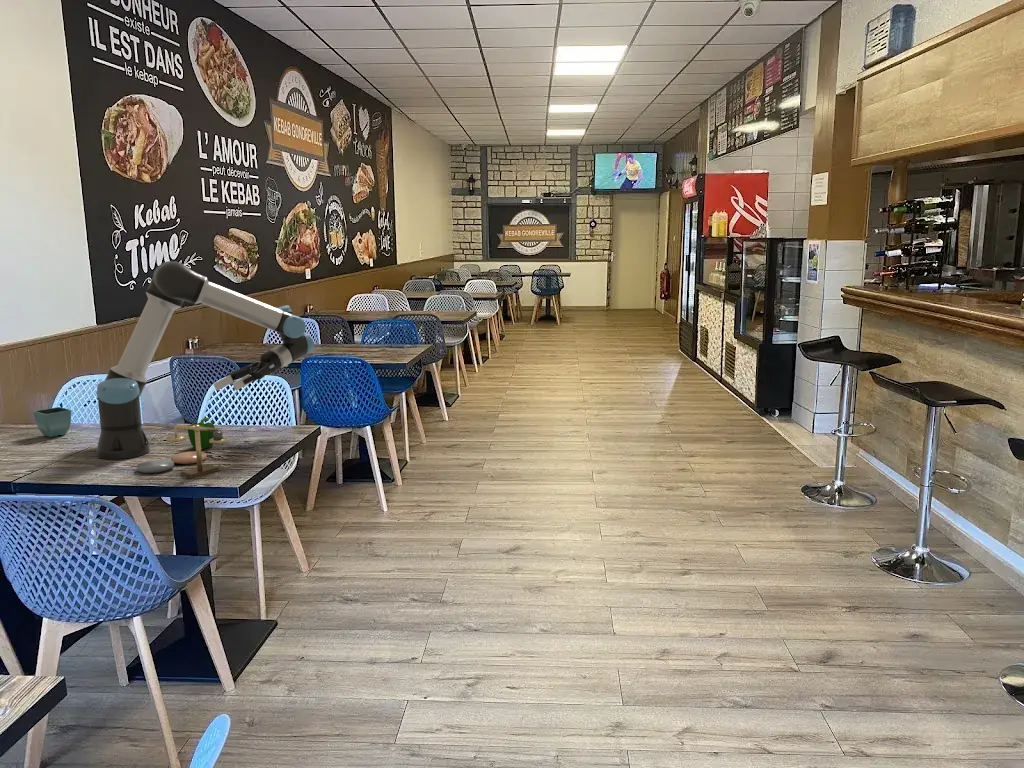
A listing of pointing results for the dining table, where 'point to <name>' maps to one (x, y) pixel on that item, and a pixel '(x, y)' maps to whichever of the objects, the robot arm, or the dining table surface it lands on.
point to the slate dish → (155, 466)
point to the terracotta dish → (186, 457)
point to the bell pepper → (202, 434)
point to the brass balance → (198, 449)
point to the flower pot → (53, 421)
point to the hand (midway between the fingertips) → (224, 387)
